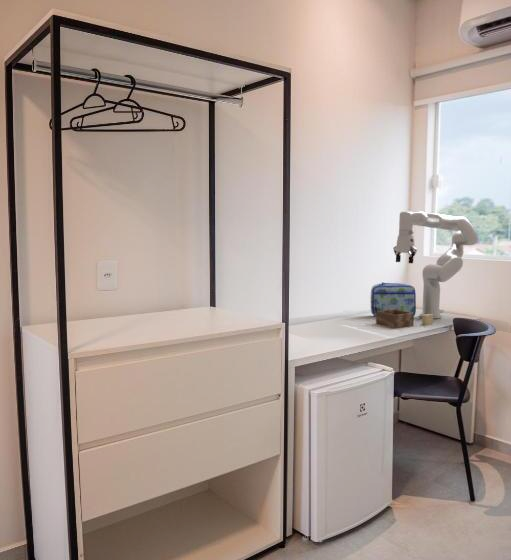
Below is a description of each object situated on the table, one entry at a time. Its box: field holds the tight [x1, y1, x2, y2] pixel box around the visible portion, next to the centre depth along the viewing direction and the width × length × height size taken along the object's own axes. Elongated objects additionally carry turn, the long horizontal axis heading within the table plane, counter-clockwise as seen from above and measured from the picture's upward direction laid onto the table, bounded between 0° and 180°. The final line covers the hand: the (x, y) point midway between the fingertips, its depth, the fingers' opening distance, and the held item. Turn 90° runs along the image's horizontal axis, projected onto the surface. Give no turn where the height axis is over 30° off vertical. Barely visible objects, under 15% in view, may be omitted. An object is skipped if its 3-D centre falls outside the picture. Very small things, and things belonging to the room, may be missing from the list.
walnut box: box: [375, 309, 415, 329], centre depth 287 cm, size 14×14×8 cm
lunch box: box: [370, 282, 417, 318], centre depth 313 cm, size 26×11×21 cm, turn 84°
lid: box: [421, 314, 447, 328], centre depth 289 cm, size 15×15×7 cm
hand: (404, 262), depth 306 cm, fingers open, 9 cm apart
